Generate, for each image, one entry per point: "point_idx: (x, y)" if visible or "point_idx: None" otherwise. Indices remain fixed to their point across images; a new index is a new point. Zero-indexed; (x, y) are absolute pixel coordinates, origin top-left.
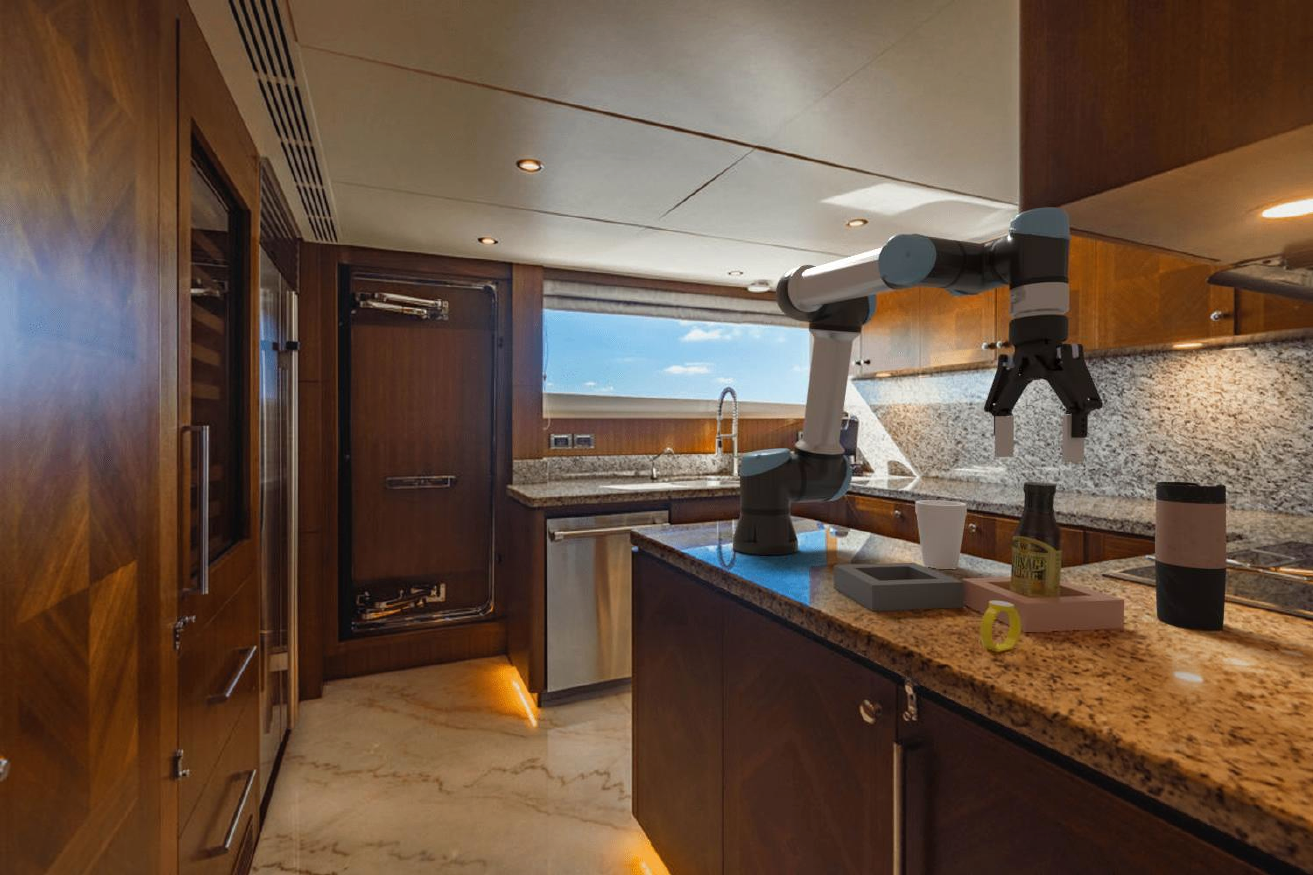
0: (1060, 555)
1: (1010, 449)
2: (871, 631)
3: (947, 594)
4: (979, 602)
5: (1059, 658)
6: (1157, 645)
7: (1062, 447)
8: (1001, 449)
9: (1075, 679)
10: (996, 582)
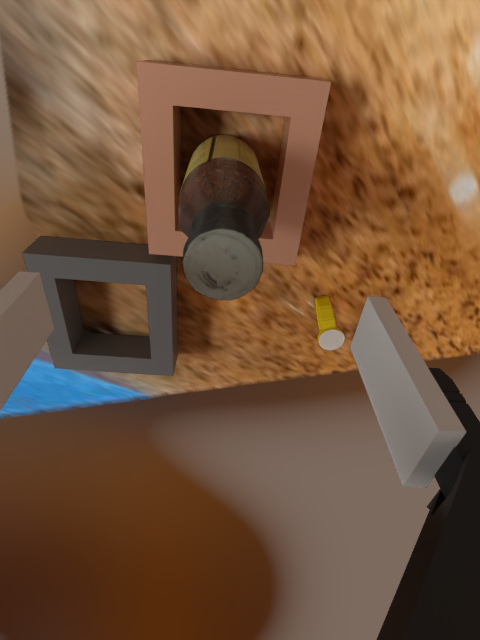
0: (262, 179)
1: (29, 301)
2: (241, 382)
3: (173, 278)
4: None
5: (365, 275)
6: (391, 109)
7: (362, 378)
8: (39, 335)
9: (406, 303)
10: (174, 211)
